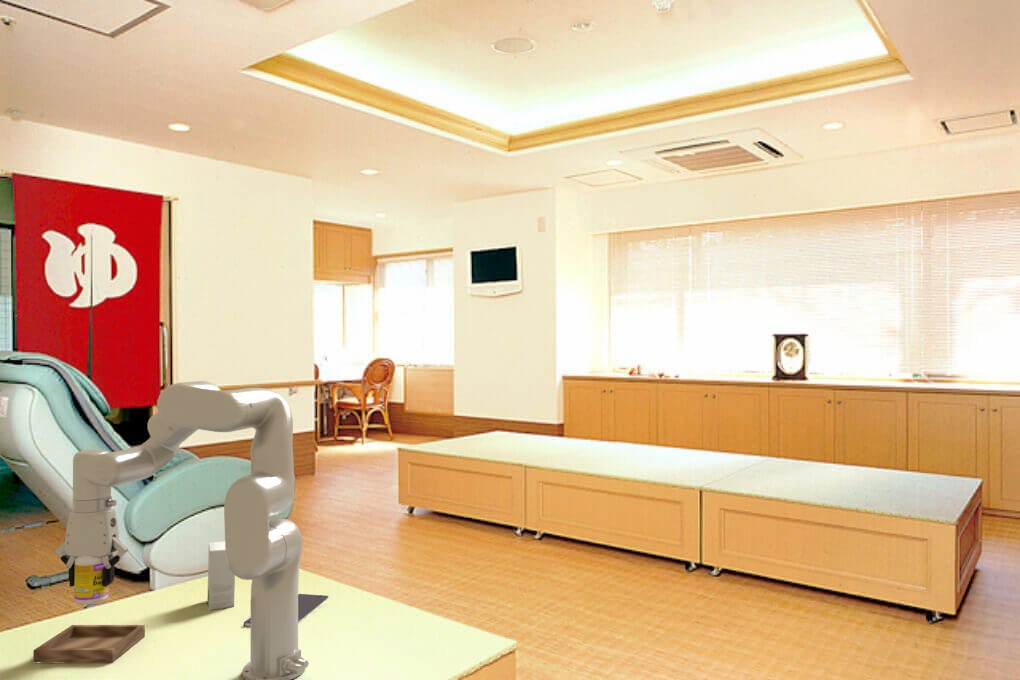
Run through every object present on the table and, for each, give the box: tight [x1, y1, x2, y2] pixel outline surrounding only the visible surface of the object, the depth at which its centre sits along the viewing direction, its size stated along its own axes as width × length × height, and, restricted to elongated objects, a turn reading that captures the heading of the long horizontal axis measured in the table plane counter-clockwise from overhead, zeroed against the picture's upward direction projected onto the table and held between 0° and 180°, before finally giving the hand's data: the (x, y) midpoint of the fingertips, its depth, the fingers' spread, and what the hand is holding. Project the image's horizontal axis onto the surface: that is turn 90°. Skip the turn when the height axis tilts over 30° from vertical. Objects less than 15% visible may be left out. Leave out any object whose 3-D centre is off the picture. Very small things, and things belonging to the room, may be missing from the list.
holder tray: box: [32, 624, 146, 664], centre depth 164 cm, size 17×14×3 cm
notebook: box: [243, 593, 329, 627], centre depth 187 cm, size 13×2×21 cm
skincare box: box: [207, 540, 236, 611], centre depth 193 cm, size 8×7×16 cm
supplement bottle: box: [73, 556, 109, 605], centre depth 164 cm, size 7×7×13 cm
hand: (91, 583), depth 164 cm, fingers closed on supplement bottle, 6 cm apart
